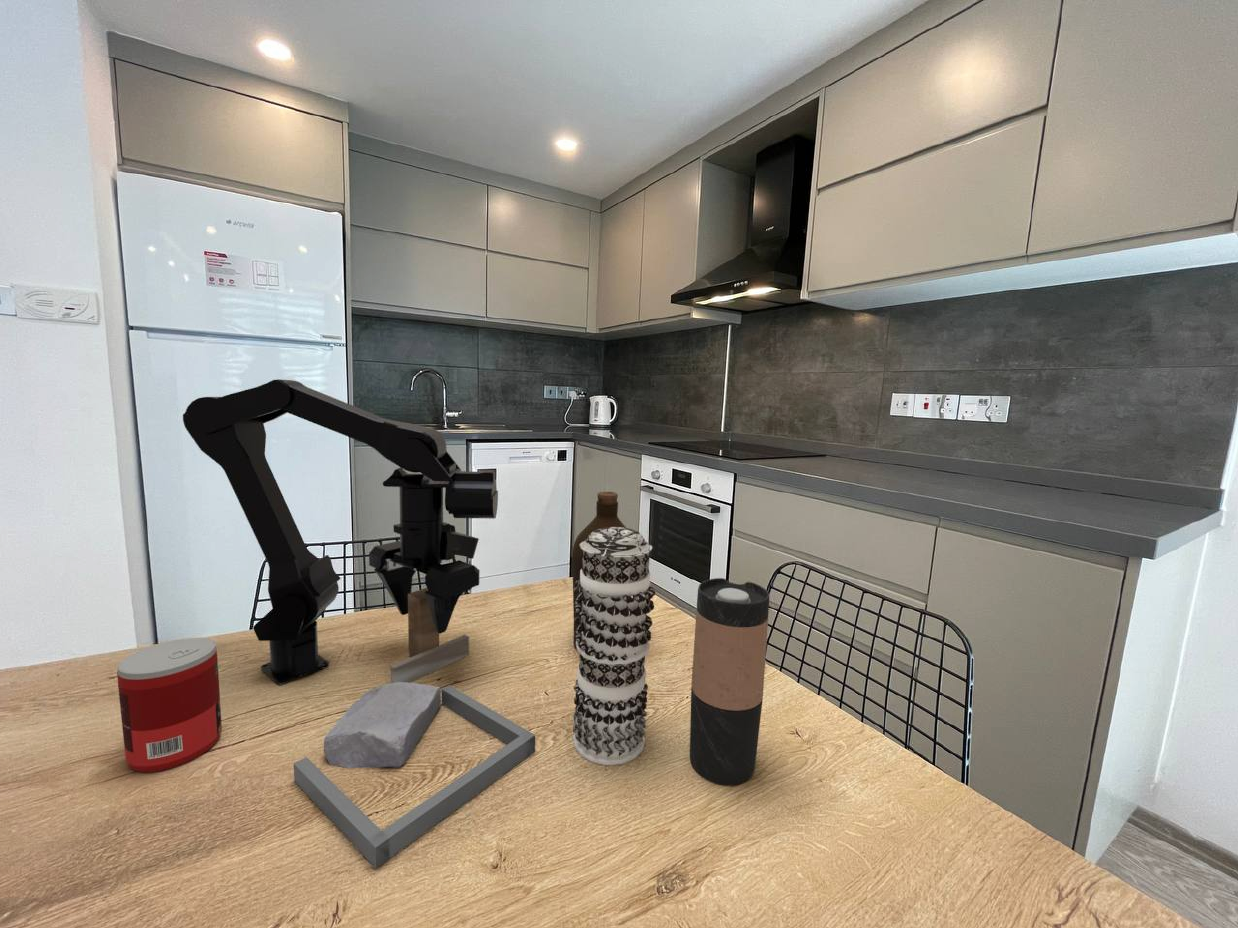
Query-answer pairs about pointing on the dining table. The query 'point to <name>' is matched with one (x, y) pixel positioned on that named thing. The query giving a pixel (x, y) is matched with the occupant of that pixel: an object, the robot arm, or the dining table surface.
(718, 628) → the travel mug
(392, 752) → the stone block
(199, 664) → the canned food
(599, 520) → the olive oil
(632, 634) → the decorative candle
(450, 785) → the frame
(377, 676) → the dining table surface
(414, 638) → the block
